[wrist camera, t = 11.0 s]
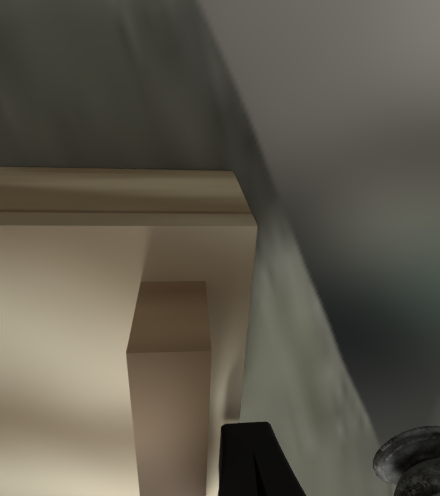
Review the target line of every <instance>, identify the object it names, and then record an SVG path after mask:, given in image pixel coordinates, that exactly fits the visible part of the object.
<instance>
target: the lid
mask: <svg viewBox="0 0 440 496" xmlns="http://www.w3.org/2000/svg"><path fill="white" fill-rule="evenodd" d="M257 228H258V226H257V224H256V222H255V219H254V217H253V215H252V214H175V213H42V212H0V496H218V490H219V468H218V465H219V450H220V435H221V426H223V425H224V424H228V423H239V419H240V408H241V398H242V387H243V377H244V366H245V355H246V345H247V334H248V324H249V313H250V302H251V292H252V281H253V271H254V260H255V250H256V239H257Z"/></svg>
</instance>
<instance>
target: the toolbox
mask: <svg viewBox="0 0 440 496" xmlns="http://www.w3.org/2000/svg"><path fill="white" fill-rule="evenodd" d="M0 212H42V213H175V214H251V210H250V208H249V206H248V203H247V201H246V199H245V197H244V194H243V192H242V190H241V188H240V185H239V183H238V181H237V179H236V176H235V174H234V172H233V171H208V170H154V169H100V168H47V167H0Z"/></svg>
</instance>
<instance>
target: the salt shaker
mask: <svg viewBox="0 0 440 496" xmlns="http://www.w3.org/2000/svg"><path fill="white" fill-rule="evenodd" d="M373 468H374V471H375V473H376V475H377V476H378V477H379V478H380V479H381V480H383V481H385V482H388V483H390V484H395V485H397V486H396V489H395V492H394V496H440V427H439V426H424V427H419V428H414V429H411V430H408V431H405V432H403V433H401V434H399V435H397V436H395V437H393V438H391V439H390V440H389V441H388V442H386V443H385V444H384V445H383V446H382V447H381V448H380V449H379V451H378V452H377V453H376V455H375V458H374V460H373Z"/></svg>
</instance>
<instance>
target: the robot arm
mask: <svg viewBox="0 0 440 496" xmlns="http://www.w3.org/2000/svg"><path fill="white" fill-rule="evenodd" d="M218 468H219V490H218V496H306V494H305V493H304V491H303V489H302V487H301V486H300V484H299V482H298V480H297V478H296V477H295V475H294V473H293V471H292V469H291V467H290V465H289V463H288V461H287V459H286V458H285V456H284V453H283V451H282V449H281V447H280V445H279V443H278V441H277V439H276V437H275V434H274V432H273V430H272V427H271V425H270V424H269V423H268V422H250V423H228V424H224V425H223V426H221V435H220V450H219V465H218Z"/></svg>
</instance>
